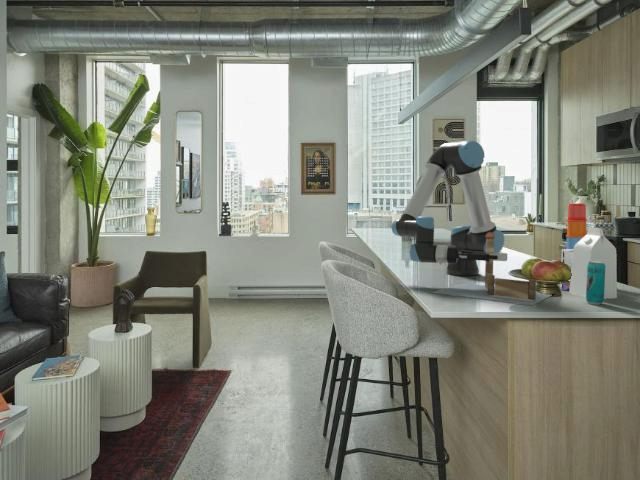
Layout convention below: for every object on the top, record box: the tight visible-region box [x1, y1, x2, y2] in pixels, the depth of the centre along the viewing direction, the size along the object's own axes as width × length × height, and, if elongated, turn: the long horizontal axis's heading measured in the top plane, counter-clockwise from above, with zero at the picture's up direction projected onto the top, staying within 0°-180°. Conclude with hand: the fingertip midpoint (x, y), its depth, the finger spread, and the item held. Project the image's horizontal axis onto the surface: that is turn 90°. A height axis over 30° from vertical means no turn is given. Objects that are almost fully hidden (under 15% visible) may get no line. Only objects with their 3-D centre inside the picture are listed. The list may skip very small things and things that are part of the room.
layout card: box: [432, 282, 552, 306], centre depth 214 cm, size 28×38×1 cm
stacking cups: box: [565, 203, 588, 249], centre depth 238 cm, size 10×10×35 cm
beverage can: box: [585, 261, 606, 306], centre depth 195 cm, size 6×6×15 cm
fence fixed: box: [487, 274, 537, 300], centre depth 203 cm, size 2×18×7 cm, turn 52°
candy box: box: [560, 248, 573, 291], centre depth 222 cm, size 14×6×16 cm, turn 71°
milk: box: [568, 226, 618, 300], centre depth 209 cm, size 12×12×26 cm
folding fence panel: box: [484, 232, 495, 288], centre depth 217 cm, size 16×4×22 cm, turn 166°
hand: (506, 257), depth 220 cm, fingers closed on folding fence panel, 3 cm apart
